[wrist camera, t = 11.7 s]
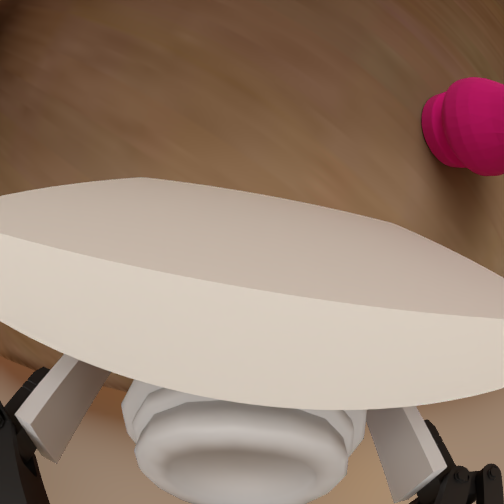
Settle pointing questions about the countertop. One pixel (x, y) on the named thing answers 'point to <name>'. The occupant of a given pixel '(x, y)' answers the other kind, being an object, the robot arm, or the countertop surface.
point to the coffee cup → (238, 447)
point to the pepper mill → (467, 126)
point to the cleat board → (248, 296)
